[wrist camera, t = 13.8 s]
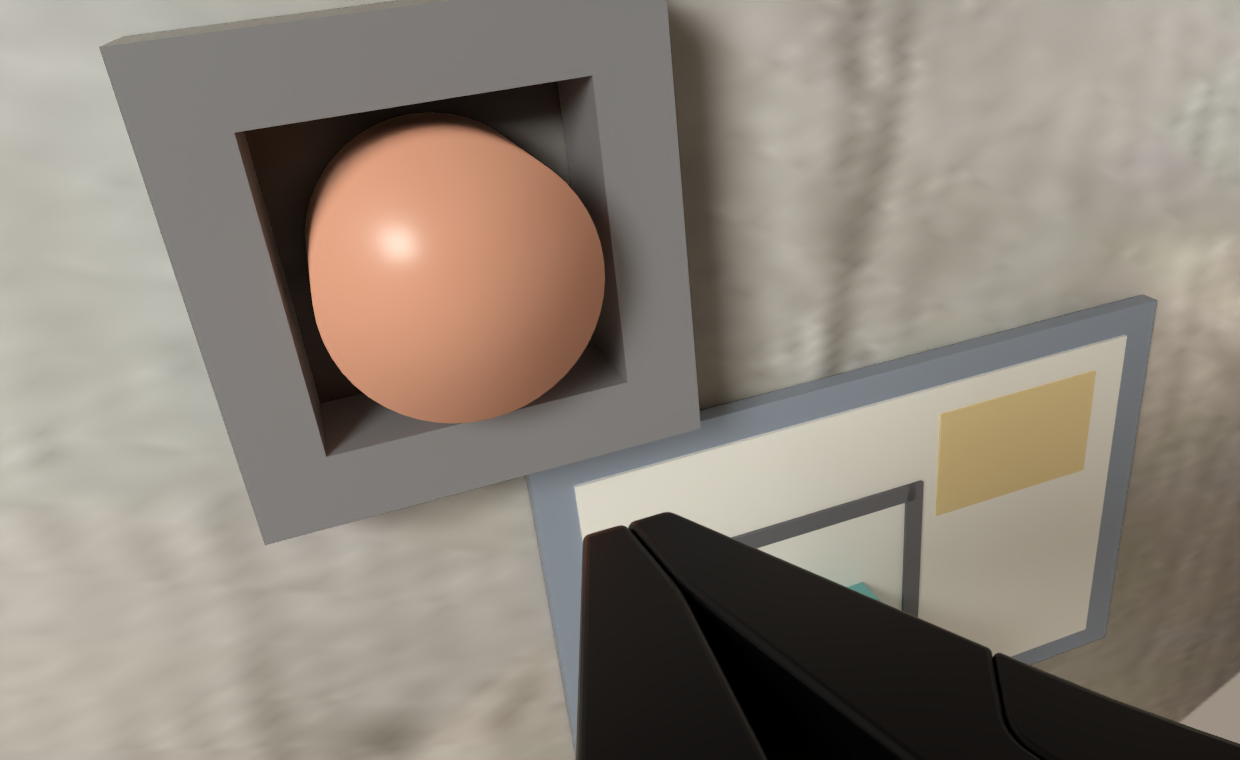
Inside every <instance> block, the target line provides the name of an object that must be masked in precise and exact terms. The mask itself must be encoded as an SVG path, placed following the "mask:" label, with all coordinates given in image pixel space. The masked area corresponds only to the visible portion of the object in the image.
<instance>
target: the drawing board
mask: <svg viewBox="0 0 1240 760" xmlns="http://www.w3.org/2000/svg"><path fill="white" fill-rule="evenodd" d="M1156 305H1157V300H1155V299H1153V298H1150V297H1147V296H1145V295H1140V296H1136V297H1132V298H1128V299H1124V300H1121V301H1117V302H1113V303H1109V304H1105V305H1101V306H1098V307H1094V308H1090V309H1086V310H1082V311H1079V312H1075V313H1071V314H1067V315H1063V316H1059V317H1056V318H1052V319H1048V320H1044V321H1040V322H1037V323H1033V324H1029V325H1025V326H1021V327H1018V328H1014V329H1010V330H1006V331H1002V332H998V333H995V334H991V335H987V336H983V337H979V338H976V339H972V340H968V341H964V342H960V343H956V344H953V345H949V346H945V347H941V348H937V349H934V350H930V351H926V352H922V353H918V354H915V355H911V356H907V357H903V358H899V359H895V360H892V361H888V362H884V363H880V364H876V365H873V366H869V367H865V368H861V369H857V370H853V371H850V372H846V373H842V374H838V375H834V376H831V377H827V378H823V379H819V380H815V381H812V382H808V383H804V384H800V385H796V386H792V387H789V388H785V389H781V390H777V391H773V392H770V393H766V394H762V395H758V396H754V397H750V398H747V399H743V400H739V401H735V402H731V403H728V404H724V405H720V406H716V407H712V408H709V409H705V410H701V411H699V412H700V424H701V429H698V430H694V431H690V432H686V433H683V434H679V435H675V436H671V437H668V438H664V439H660V440H656V441H653V442H649V443H645V444H641V445H638V446H634V447H630V448H626V449H623V450H619V451H615V452H612V453H608V454H604V455H600V456H597V457H593V458H589V459H585V460H582V461H578V462H574V463H570V464H567V465H563V466H559V467H555V468H552V469H548V470H544V471H540V472H537V473H533V474H529V475H526V479H527V485H528V491H529V496H530V502H531V508H532V513H533V519H534V525H535V530H536V536H537V542H538V547H539V553H540V558H541V564H542V570H543V575H544V581H545V587H546V592H547V598H548V604H549V609H550V615H551V621H552V626H553V632H554V637H555V643H556V649H557V654H558V660H559V666H560V671H561V677H562V683H563V688H564V694H565V700H566V705H567V711H568V716H569V722H570V728H571V733H572V739H573V745H574V750H575V756H576V735H577V704H578V672H579V641H580V610H581V579H582V548H583V539H584V537H585V536H586V535H588V534H591V533H594V532H598V531H601V530H605V529H608V528H612V527H615V526H619V525H623V526H626V527H627V528H628V527H629V525H630V523H631V522H633V521H636V520H639V519H643V518H646V517H650V516H653V515H656V514H660V513H663V512H671V513H674V514H677V515H679V516H682V517H684V518H686V519H689V520H691V521H693V522H696V523H698V524H700V525H703V526H705V527H707V528H710V529H712V530H714V531H717V532H719V533H721V534H724V535H726V536H728V537H731V538H733V539H735V540H738V541H740V542H742V543H745V544H747V545H749V546H752V547H754V548H757V549H759V550H761V551H764V552H766V553H768V554H771V555H773V556H775V557H778V558H780V559H782V560H785V561H787V562H789V563H792V564H794V565H796V566H799V567H801V568H803V569H806V570H808V571H810V572H813V573H815V574H817V575H820V576H822V577H824V578H827V579H829V580H831V581H834V582H836V583H838V584H841V585H843V586H845V587H849V586H852V585H855V584H858V583H861V582H863V583H864V584H865V585H866V586H867V587H868V588H869V589H870V590H871V591H872V593H873V594H874V595H875V596H876V597H877V598H878V599H879V600H880V601H881V602H883V603H885V604H887V605H890V606H892V607H894V608H897V609H899V610H901V611H904V612H906V613H908V614H911V615H913V616H915V617H918V618H920V619H922V620H925V621H927V622H929V623H932V624H934V625H936V626H939V627H941V628H943V629H946V630H948V631H950V632H953V633H955V634H957V635H960V636H962V637H964V638H967V639H969V640H971V641H974V642H976V643H979V644H981V645H983V646H986V647H988V648H989V649H990V650H991V651H992V655H993V656H994V655H995V654H996V653H1003V654H1005V655H1007V656H1010V657H1012V658H1014V659H1017V660H1019V661H1021V662H1024V663H1026V664H1028V665H1032V664H1034V663H1037V662H1040V661H1042V660H1045V659H1048V658H1050V657H1053V656H1056V655H1059V654H1061V653H1064V652H1067V651H1069V650H1072V649H1075V648H1077V647H1080V646H1083V645H1085V644H1088V643H1091V642H1093V641H1096V640H1099V639H1102V638H1104V637H1105V635H1106V628H1107V622H1108V615H1109V609H1110V603H1111V596H1112V590H1113V583H1114V577H1115V570H1116V564H1117V557H1118V551H1119V544H1120V538H1121V531H1122V525H1123V518H1124V512H1125V505H1126V499H1127V493H1128V486H1129V480H1130V473H1131V467H1132V460H1133V454H1134V447H1135V441H1136V434H1137V428H1138V421H1139V415H1140V408H1141V402H1142V395H1143V389H1144V382H1145V376H1146V370H1147V363H1148V357H1149V350H1150V344H1151V337H1152V331H1153V324H1154V318H1155V311H1156Z"/></svg>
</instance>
